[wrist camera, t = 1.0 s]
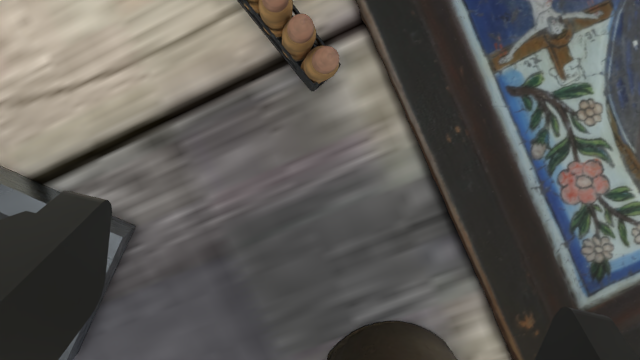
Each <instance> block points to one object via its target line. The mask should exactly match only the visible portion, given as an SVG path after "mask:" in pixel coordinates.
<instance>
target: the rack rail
mask: <svg viewBox="0 0 640 360" xmlns="http://www.w3.org/2000/svg"><path fill="white" fill-rule="evenodd" d="M59 194H60V192H58V191H56V190H53V189H51V188H49V187H47V186H44V185H42V184H40V183H38V182H35V181H33V180H31V179H29V178H26V177H24V176H22V175H20V174H17V173H15V172H13V171H11V170H8V169H6V168H4V167H2V166H0V220H1V219H4V218H7V217H9V216H12V215H15V214H18V213H21V212H24V211H29V212H33V213H37V212H38V211H39V210H40V209H42V208H43V207H44V206H45V205H47V204H48V203H49V202H50V201H51V200H53V199H54V198H55V197H56V196H58V195H59ZM134 229H135V226H134V225H132V224H130V223H128V222H125V221H123V220H121V219H119V218H116V217H114V216H111V227H110V237H109V247H108V258H107V268H106V278H105V283H104V288H103V291H102V294H101V297H100V300H99V302H98V305H97V307H96V309H95V310H94V312H93V313H92V315H91V316H90V318H89V319H88V320H87V322H86V323H85V324H84V326H83V327H82V328H81V330H80V331H79V333H78V334H77V335H76V337H75V338H74V339H73V341H72V342H71V343H70V345H69V346H68V347H67V349H66V350H65V352H64V353H63V354H62V356H61V357H60V358H59V360H72V359H73V358H74V357H75V356H76V354H77V353H78V351H79V349H80V347H81V344H82V342H83V340H84V338H85V336H86V333H87V331H88V329H89V327H90V325H91V323H92V320H93V318H94V316H95V314H96V312H97V309H98V307H99V305H100V303H101V301H102V299H103V296H104V294H105V292H106V290H107V288H108V285H109V283H110V281H111V279H112V277H113V274H114V272H115V270H116V268H117V266H118V264H119V261H120V259H121V257H122V255H123V253H124V250H125V248H126V246H127V244H128V242H129V240H130V237H131V235H132V233H133V231H134Z"/></svg>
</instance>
